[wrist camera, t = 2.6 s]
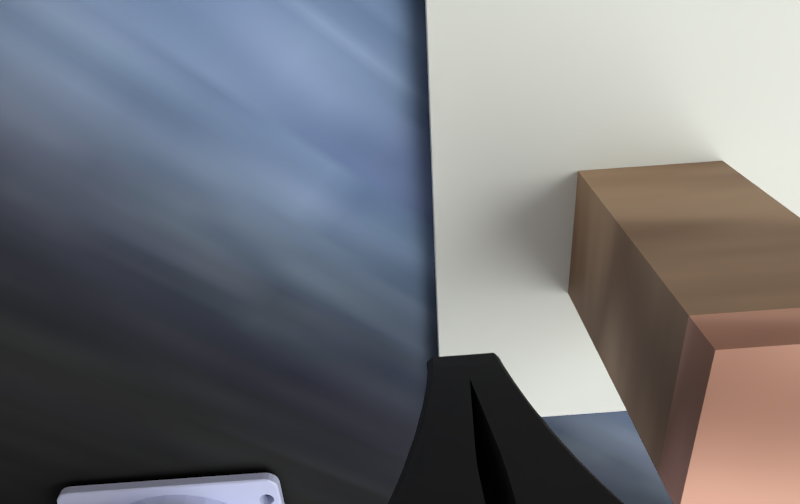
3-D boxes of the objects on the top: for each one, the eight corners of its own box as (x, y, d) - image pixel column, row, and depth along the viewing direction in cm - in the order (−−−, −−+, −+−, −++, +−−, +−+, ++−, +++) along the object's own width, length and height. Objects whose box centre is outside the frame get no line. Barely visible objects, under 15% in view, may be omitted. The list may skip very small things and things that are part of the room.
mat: (950, 377, 22) (962, 386, 22) (440, 413, 22) (442, 423, 22) (1157, -68, 16) (1179, -67, 15) (424, -17, 15) (425, -15, 15)
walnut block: (697, 284, 19) (881, 498, 12) (568, 292, 19) (677, 513, 12) (722, 160, 17) (956, 332, 10) (577, 170, 17) (715, 350, 10)
